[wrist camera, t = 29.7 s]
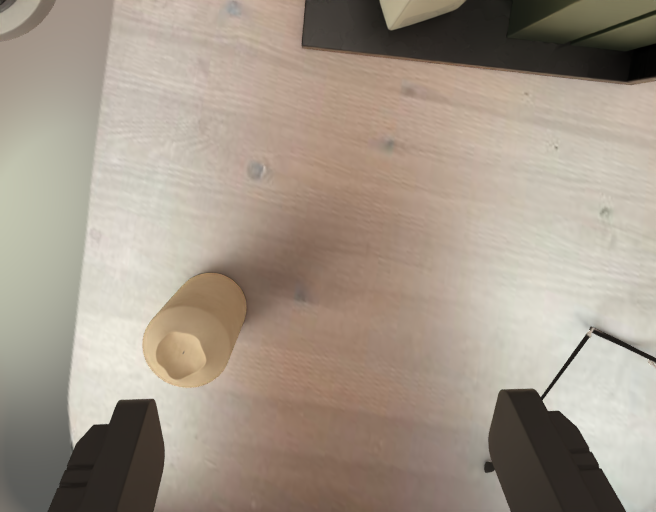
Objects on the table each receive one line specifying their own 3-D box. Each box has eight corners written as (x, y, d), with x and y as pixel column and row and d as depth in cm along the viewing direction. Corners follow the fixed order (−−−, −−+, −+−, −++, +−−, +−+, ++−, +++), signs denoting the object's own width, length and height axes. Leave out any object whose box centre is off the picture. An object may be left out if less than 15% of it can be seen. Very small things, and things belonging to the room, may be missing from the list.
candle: (256, 285, 42) (238, 330, 33) (234, 348, 43) (210, 410, 34) (188, 261, 42) (148, 301, 32) (168, 326, 43) (123, 382, 33)
